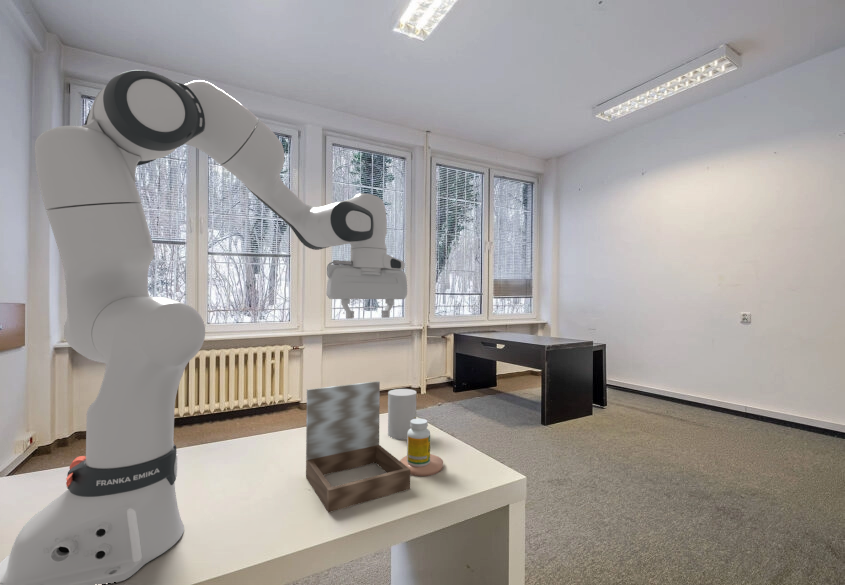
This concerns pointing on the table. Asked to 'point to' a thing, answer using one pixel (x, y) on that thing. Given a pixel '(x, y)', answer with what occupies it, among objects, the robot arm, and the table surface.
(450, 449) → the table surface
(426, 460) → the supplement bottle
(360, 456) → the hinged wooden box
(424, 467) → the pink flat disc
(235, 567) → the table surface
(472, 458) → the table surface
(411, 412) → the white cylinder
